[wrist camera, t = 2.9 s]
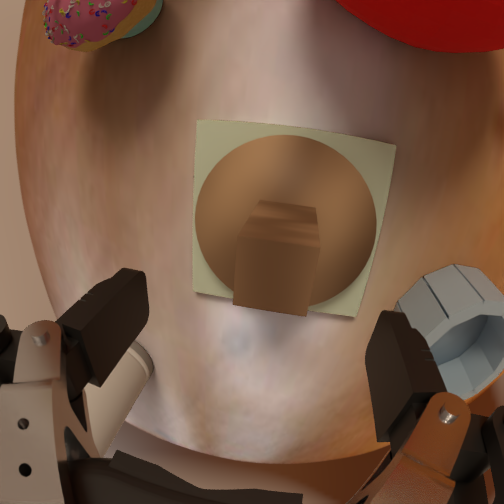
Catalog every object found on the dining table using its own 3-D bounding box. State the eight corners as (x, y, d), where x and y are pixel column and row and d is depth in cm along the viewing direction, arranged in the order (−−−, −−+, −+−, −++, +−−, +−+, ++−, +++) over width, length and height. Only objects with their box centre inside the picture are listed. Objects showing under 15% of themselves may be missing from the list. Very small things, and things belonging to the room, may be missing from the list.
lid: (387, 151, 15) (436, 166, 9) (351, 310, 20) (363, 384, 13) (204, 127, 17) (147, 129, 10) (199, 286, 21) (159, 349, 15)
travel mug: (97, 320, 26) (-23, 468, 8) (155, 346, 25) (47, 527, 7) (102, 360, 28) (9, 492, 10) (153, 384, 28) (71, 536, 10)
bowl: (507, 274, 17) (538, 306, 12) (461, 366, 21) (477, 404, 16) (412, 256, 18) (438, 294, 14) (371, 363, 22) (379, 409, 18)
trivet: (393, 144, 15) (396, 145, 15) (355, 312, 20) (356, 317, 20) (200, 119, 17) (197, 119, 16) (195, 287, 22) (192, 291, 21)
